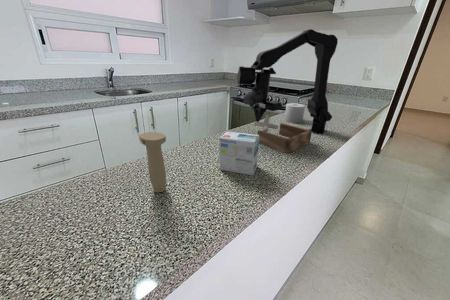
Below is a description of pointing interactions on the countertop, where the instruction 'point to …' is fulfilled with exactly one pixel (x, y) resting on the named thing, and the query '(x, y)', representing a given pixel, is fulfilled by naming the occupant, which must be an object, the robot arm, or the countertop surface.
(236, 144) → the light bulb box
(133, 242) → the countertop surface
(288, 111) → the toilet tissue
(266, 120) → the pipe connector
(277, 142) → the walnut bay
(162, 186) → the handle
